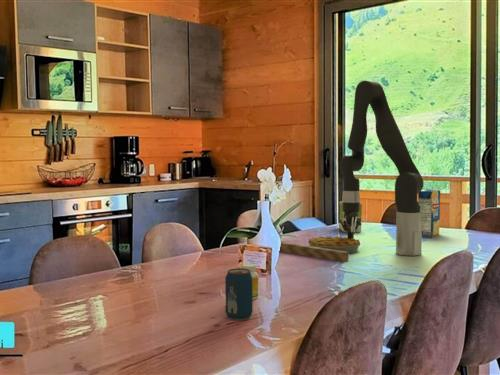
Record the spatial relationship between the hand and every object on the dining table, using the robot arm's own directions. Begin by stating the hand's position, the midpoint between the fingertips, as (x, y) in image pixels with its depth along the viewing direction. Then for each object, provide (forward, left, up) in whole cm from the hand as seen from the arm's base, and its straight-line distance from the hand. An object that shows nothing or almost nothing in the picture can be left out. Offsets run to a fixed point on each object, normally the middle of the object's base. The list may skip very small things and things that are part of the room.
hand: (350, 240), depth 251 cm
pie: (0, +12, -3) cm, 13 cm away
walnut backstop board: (0, +30, -3) cm, 30 cm away
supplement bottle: (-28, +93, -3) cm, 97 cm away
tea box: (+28, -41, -3) cm, 49 cm away
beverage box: (-9, -55, -3) cm, 56 cm away
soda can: (-39, +108, -3) cm, 115 cm away
